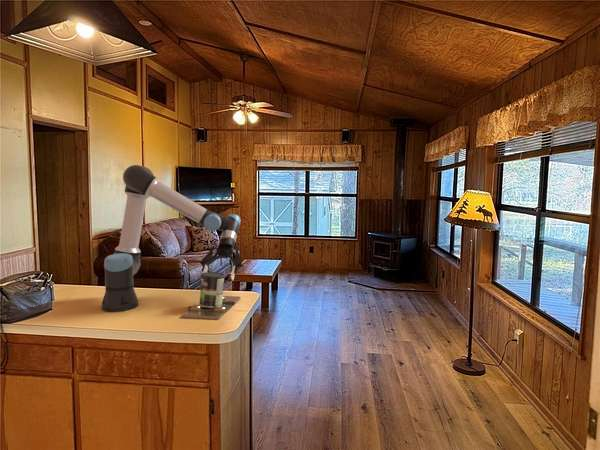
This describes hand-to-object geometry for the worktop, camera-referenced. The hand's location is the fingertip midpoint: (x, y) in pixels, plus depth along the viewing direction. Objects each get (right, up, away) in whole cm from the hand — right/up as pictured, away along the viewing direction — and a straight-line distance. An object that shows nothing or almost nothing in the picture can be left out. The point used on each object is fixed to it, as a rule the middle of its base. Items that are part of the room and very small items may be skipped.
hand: (217, 278), depth 181 cm
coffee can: (-3, -12, -1) cm, 12 cm away
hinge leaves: (-1, -13, -2) cm, 13 cm away
